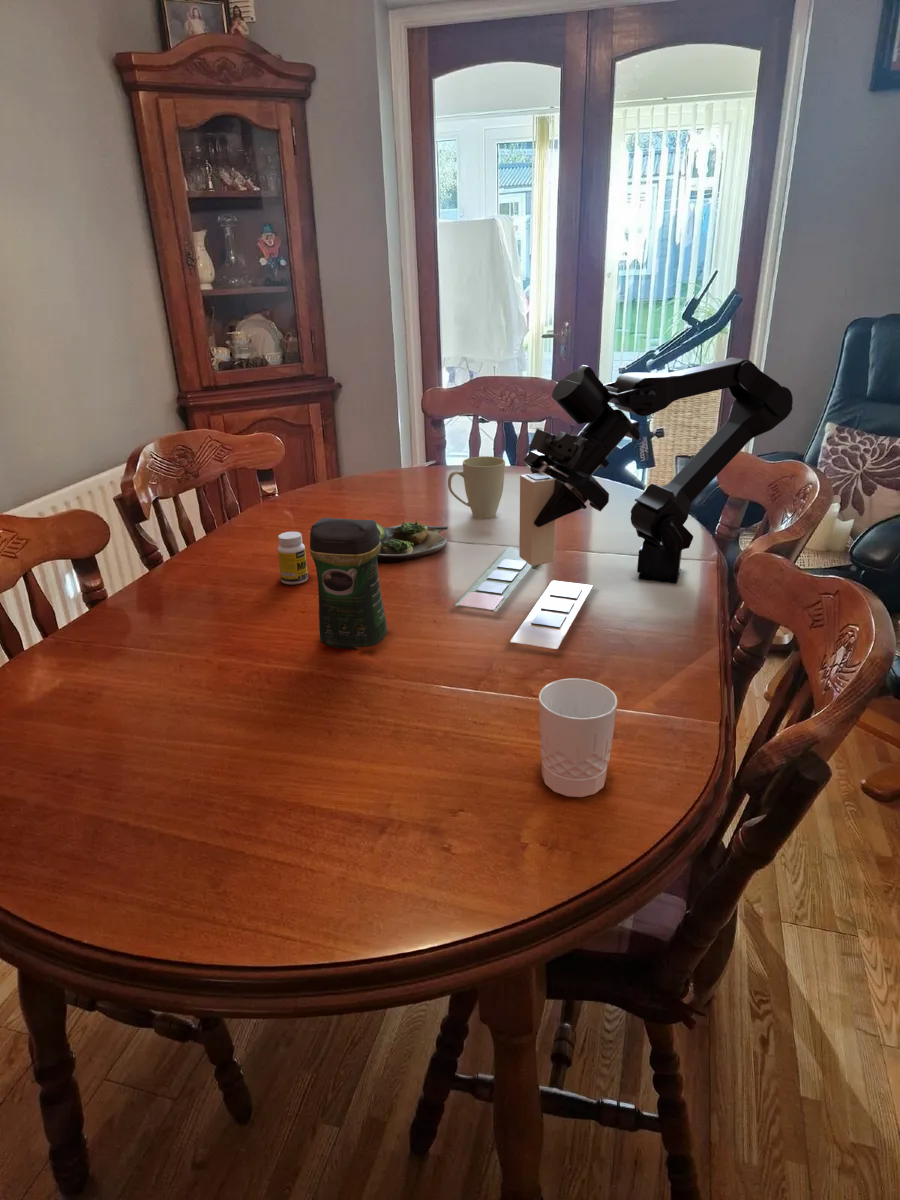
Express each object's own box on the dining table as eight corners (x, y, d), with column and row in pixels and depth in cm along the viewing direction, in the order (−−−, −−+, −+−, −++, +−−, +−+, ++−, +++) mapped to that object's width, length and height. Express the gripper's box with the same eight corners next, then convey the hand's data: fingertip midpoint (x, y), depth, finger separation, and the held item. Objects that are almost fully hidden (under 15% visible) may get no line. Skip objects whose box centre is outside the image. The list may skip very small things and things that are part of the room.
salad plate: (430, 524, 159) (430, 503, 158) (470, 550, 145) (469, 527, 143) (343, 540, 152) (342, 518, 150) (375, 568, 137) (374, 544, 135)
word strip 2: (552, 585, 128) (552, 579, 128) (593, 590, 126) (593, 584, 125) (509, 648, 108) (509, 640, 107) (557, 655, 105) (557, 648, 105)
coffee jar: (393, 630, 114) (386, 513, 106) (375, 655, 107) (366, 531, 99) (333, 625, 116) (322, 509, 109) (312, 648, 109) (299, 526, 102)
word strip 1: (508, 552, 143) (508, 546, 143) (543, 556, 141) (544, 550, 140) (454, 611, 120) (454, 604, 119) (496, 617, 117) (496, 610, 117)
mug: (475, 506, 170) (474, 454, 165) (512, 513, 165) (513, 459, 160) (446, 519, 162) (445, 464, 157) (485, 527, 157) (484, 470, 152)
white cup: (530, 758, 84) (532, 680, 80) (600, 753, 84) (605, 675, 80) (544, 804, 77) (547, 721, 73) (620, 798, 77) (627, 716, 73)
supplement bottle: (302, 586, 131) (297, 540, 127) (276, 584, 131) (271, 539, 128) (312, 575, 135) (307, 531, 131) (287, 574, 136) (282, 530, 132)
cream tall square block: (541, 552, 123) (543, 471, 118) (553, 562, 119) (556, 478, 114) (519, 556, 122) (519, 474, 117) (531, 565, 118) (532, 481, 113)
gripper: (535, 399, 120) (472, 475, 122) (594, 419, 104) (521, 506, 106) (577, 443, 126) (516, 515, 127) (639, 469, 110) (569, 551, 111)
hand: (529, 520), depth 118 cm, fingers closed on cream tall square block, 4 cm apart
